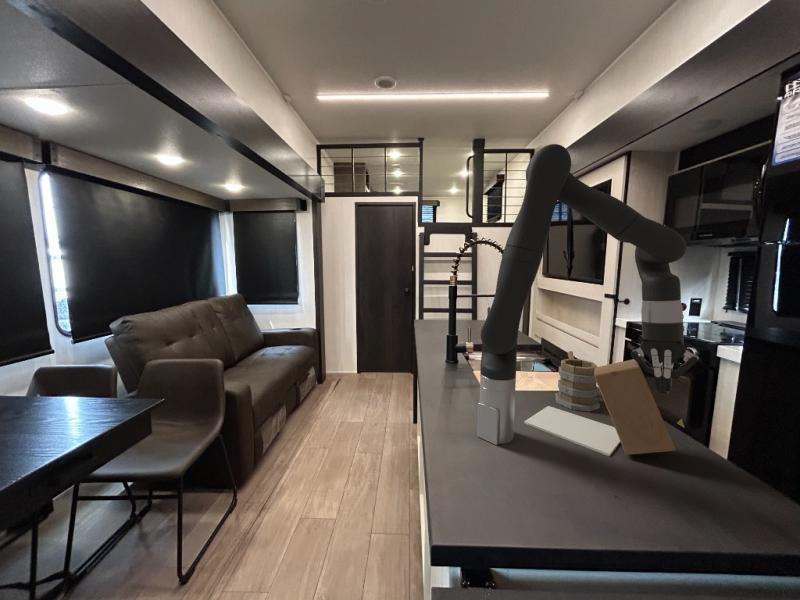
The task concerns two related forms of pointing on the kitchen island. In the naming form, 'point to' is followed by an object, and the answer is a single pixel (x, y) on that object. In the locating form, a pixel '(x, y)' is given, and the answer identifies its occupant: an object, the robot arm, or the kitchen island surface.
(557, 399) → the tankard
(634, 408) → the wooden block
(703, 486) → the kitchen island surface
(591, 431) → the mat
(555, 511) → the kitchen island surface
